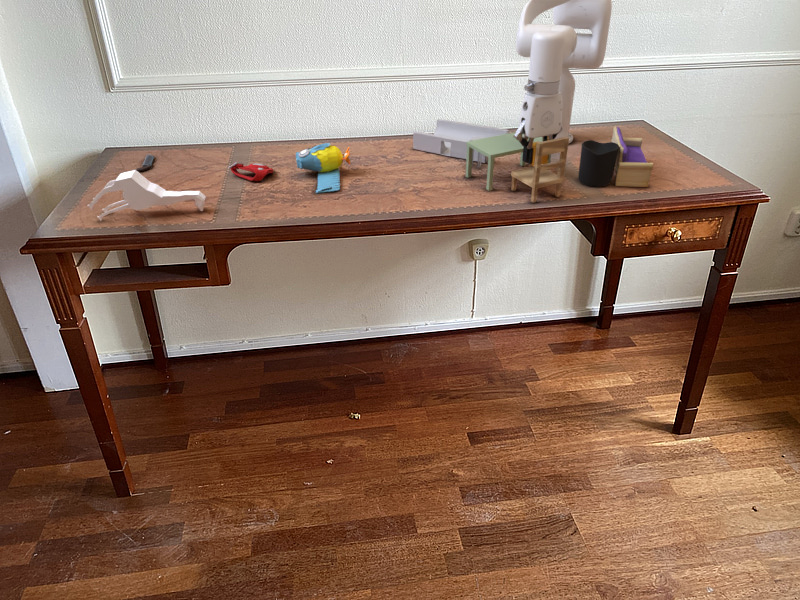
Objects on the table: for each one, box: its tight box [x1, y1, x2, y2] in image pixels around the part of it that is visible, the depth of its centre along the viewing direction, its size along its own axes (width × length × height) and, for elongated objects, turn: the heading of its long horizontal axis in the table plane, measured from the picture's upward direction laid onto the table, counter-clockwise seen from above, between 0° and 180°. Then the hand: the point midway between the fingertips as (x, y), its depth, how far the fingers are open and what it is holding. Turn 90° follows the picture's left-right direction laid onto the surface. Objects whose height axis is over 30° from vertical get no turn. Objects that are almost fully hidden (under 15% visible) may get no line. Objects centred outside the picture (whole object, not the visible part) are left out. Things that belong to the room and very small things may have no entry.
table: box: [465, 131, 552, 192], centre depth 165 cm, size 12×20×10 cm, turn 117°
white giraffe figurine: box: [87, 169, 207, 222], centre depth 149 cm, size 5×16×25 cm
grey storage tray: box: [412, 118, 510, 169], centre depth 184 cm, size 25×21×8 cm
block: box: [529, 142, 548, 167], centre depth 153 cm, size 4×4×4 cm
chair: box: [510, 137, 570, 204], centre depth 154 cm, size 10×9×15 cm
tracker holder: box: [228, 161, 274, 182], centre depth 170 cm, size 12×4×10 cm
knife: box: [135, 153, 155, 173], centre depth 181 cm, size 14×4×1 cm, turn 11°
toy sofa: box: [610, 126, 654, 188], centre depth 166 cm, size 21×9×10 cm, turn 169°
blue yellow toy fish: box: [295, 142, 351, 194], centre depth 170 cm, size 28×9×15 cm
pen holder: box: [577, 139, 619, 188], centre depth 161 cm, size 9×9×10 cm
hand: (535, 159), depth 154 cm, fingers closed on block, 4 cm apart
